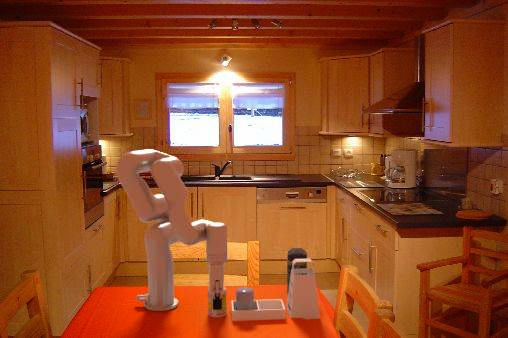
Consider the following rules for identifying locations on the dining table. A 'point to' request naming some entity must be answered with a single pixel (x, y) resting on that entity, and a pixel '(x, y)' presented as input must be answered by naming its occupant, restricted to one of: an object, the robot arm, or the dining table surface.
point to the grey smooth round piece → (244, 299)
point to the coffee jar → (296, 254)
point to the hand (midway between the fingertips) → (217, 305)
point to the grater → (303, 293)
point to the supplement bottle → (210, 304)
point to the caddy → (260, 310)
